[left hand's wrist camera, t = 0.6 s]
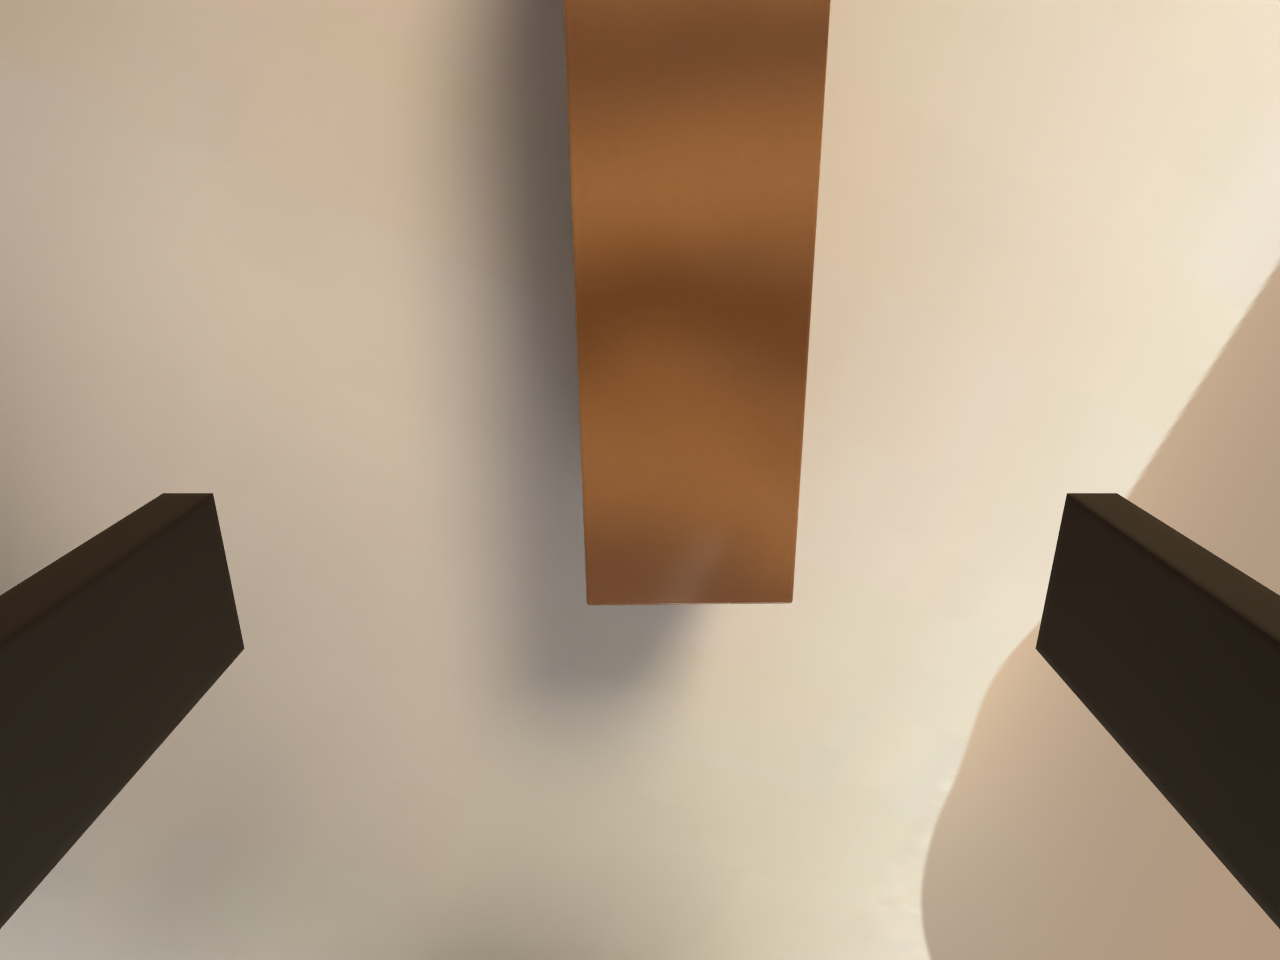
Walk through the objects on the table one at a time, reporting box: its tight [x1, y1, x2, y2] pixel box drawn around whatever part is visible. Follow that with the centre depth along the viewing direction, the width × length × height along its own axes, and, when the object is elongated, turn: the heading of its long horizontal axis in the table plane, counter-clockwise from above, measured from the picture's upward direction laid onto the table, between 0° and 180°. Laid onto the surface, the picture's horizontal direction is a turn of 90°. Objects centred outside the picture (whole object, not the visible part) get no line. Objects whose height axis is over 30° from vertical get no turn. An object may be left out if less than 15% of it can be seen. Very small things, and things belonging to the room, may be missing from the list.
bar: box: [564, 0, 830, 605], centre depth 22 cm, size 25×6×9 cm, turn 0°
